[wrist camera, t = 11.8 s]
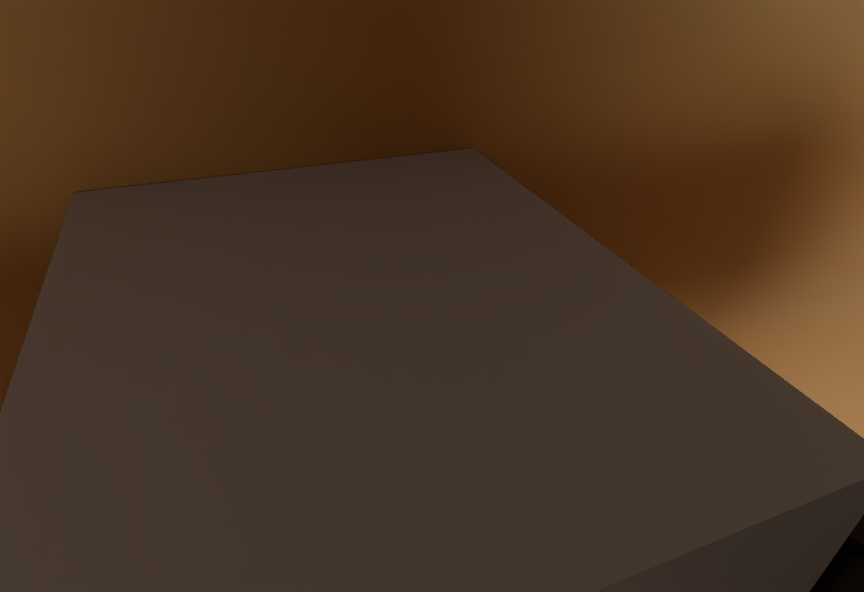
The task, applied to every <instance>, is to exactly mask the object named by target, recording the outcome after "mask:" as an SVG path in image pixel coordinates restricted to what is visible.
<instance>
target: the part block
mask: <svg viewBox="0 0 864 592" xmlns="http://www.w3.org/2000/svg"><path fill="white" fill-rule="evenodd" d="M863 515H864V438H862V437H861V436H859V435H858V434H857V433H855V432H854V431H853V430H851V429H850V428H849V427H847V426H846V425H845V424H843V423H842V422H841V421H839V420H838V419H837V418H835V417H834V416H833V415H831V414H830V413H829V412H827V411H826V410H825V409H823V408H822V407H820V406H819V405H818V404H816V403H815V402H814V401H812V400H811V399H810V398H808V397H807V396H806V395H804V394H803V393H802V392H800V391H799V390H798V389H796V388H795V387H794V386H792V385H791V384H790V383H788V382H787V381H785V380H784V379H783V378H781V377H780V376H779V375H777V374H776V373H775V372H773V371H772V370H771V369H769V368H768V367H767V366H765V365H764V364H763V363H761V362H760V361H759V360H757V359H756V358H755V357H753V356H752V355H751V354H749V353H748V352H746V351H745V350H744V349H742V348H741V347H740V346H738V345H737V344H736V343H734V342H733V341H732V340H730V339H729V338H728V337H726V336H725V335H724V334H722V333H721V332H720V331H718V330H717V329H716V328H714V327H713V326H711V325H710V324H709V323H707V322H706V321H705V320H703V319H702V318H701V317H699V316H698V315H697V314H695V313H694V312H693V311H691V310H690V309H689V308H687V307H686V306H685V305H683V304H682V303H681V302H679V301H678V300H676V299H675V298H674V297H672V296H671V295H670V294H668V293H667V292H666V291H664V290H663V289H662V288H660V287H659V286H658V285H656V284H655V283H654V282H652V281H651V280H650V279H648V278H647V277H646V276H644V275H643V274H642V273H640V272H639V271H637V270H636V269H635V268H633V267H632V266H631V265H629V264H628V263H627V262H625V261H624V260H623V259H621V258H620V257H619V256H617V255H616V254H615V253H613V252H612V251H611V250H609V249H608V248H607V247H605V246H604V245H602V244H601V243H600V242H598V241H597V240H596V239H594V238H593V237H592V236H590V235H589V234H588V233H586V232H585V231H584V230H582V229H581V228H580V227H578V226H577V225H576V224H574V223H573V222H572V221H570V220H569V219H567V218H566V217H565V216H563V215H562V214H561V213H559V212H558V211H557V210H555V209H554V208H553V207H551V206H550V205H549V204H547V203H546V202H545V201H543V200H542V199H541V198H539V197H538V196H537V195H535V194H534V193H533V192H531V191H530V190H528V189H527V188H526V187H524V186H523V185H522V184H520V183H519V182H518V181H516V180H515V179H514V178H512V177H511V176H510V175H508V174H507V173H506V172H504V171H503V170H502V169H500V168H499V167H498V166H496V165H495V164H493V163H492V162H491V161H489V160H488V159H487V158H485V157H484V156H483V155H481V154H480V153H479V152H477V151H476V150H475V149H473V148H470V149H461V150H452V151H443V152H434V153H425V154H416V155H407V156H398V157H389V158H380V159H371V160H362V161H353V162H344V163H335V164H326V165H317V166H308V167H299V168H290V169H281V170H273V171H264V172H255V173H246V174H237V175H228V176H219V177H210V178H201V179H192V180H183V181H174V182H165V183H156V184H147V185H138V186H129V187H120V188H111V189H102V190H93V191H84V192H75V193H73V195H72V198H71V201H70V204H69V207H68V210H67V213H66V216H65V219H64V222H63V225H62V228H61V231H60V234H59V237H58V240H57V243H56V246H55V249H54V252H53V255H52V258H51V261H50V264H49V267H48V270H47V273H46V276H45V279H44V282H43V285H42V288H41V291H40V294H39V297H38V300H37V303H36V306H35V309H34V312H33V315H32V318H31V321H30V324H29V327H28V330H27V333H26V336H25V339H24V342H23V345H22V348H21V351H20V354H19V357H18V360H17V363H16V366H15V369H14V372H13V375H12V378H11V381H10V384H9V387H8V390H7V393H6V396H5V399H4V402H3V405H2V408H1V411H0V592H810V590H811V589H812V587H813V586H814V585H815V583H816V582H817V580H818V579H819V577H820V576H821V575H822V573H823V572H824V570H825V569H826V568H827V566H828V565H829V563H830V562H831V560H832V559H833V558H834V556H835V555H836V553H837V552H838V550H839V549H840V548H841V546H842V545H843V543H844V542H845V540H846V539H847V538H848V536H849V535H850V533H851V532H852V531H853V529H854V528H855V526H856V525H857V523H858V522H859V521H860V519H861V518H862V516H863Z"/></svg>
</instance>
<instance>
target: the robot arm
mask: <svg viewBox="0 0 864 592" xmlns="http://www.w3.org/2000/svg"><path fill="white" fill-rule="evenodd" d="M810 592H864V515H863V516H862V518H861V519H860V521H859V522H858V523H857V525H856V526H855V528H854V529H853V531H852V532H851V533H850V535H849V536H848V538H847V539H846V540H845V542H844V543H843V545H842V546H841V548H840V549H839V550H838V552H837V553H836V555H835V556H834V558H833V559H832V560H831V562H830V563H829V565H828V566H827V568H826V569H825V570H824V572H823V573H822V575H821V576H820V577H819V579H818V580H817V582H816V583H815V585H814V586H813V587H812V589H811V590H810Z"/></svg>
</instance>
